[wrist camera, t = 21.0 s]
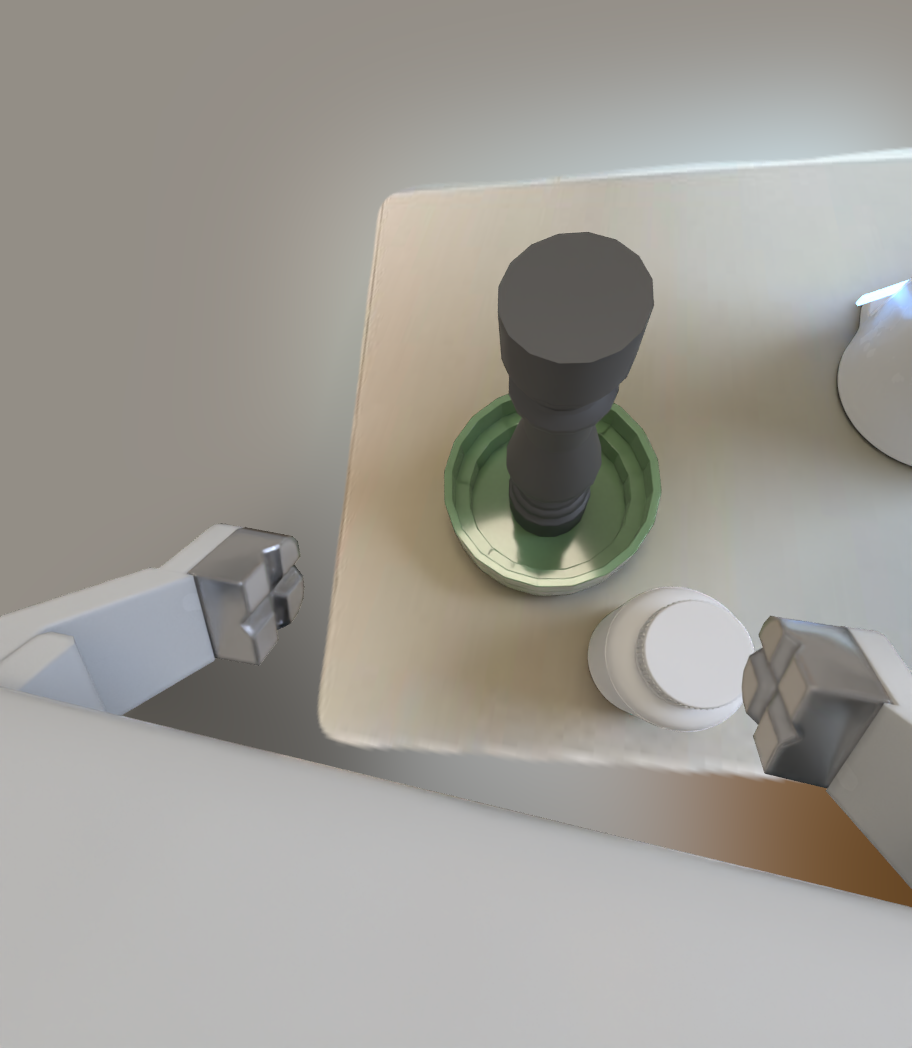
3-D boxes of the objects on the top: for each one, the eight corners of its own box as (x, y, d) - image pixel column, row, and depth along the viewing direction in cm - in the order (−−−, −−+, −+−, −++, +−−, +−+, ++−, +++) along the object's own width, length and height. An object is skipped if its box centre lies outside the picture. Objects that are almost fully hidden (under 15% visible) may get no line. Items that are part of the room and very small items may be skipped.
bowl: (598, 392, 46) (608, 357, 41) (676, 557, 42) (698, 542, 37) (430, 453, 47) (418, 426, 41) (489, 623, 42) (484, 617, 37)
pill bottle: (584, 604, 42) (614, 571, 27) (691, 608, 41) (782, 576, 26) (585, 711, 40) (618, 736, 25) (698, 718, 39) (800, 748, 24)
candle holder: (518, 459, 45) (509, 218, 21) (592, 472, 44) (673, 234, 20) (502, 529, 43) (473, 357, 19) (578, 544, 42) (647, 383, 18)
